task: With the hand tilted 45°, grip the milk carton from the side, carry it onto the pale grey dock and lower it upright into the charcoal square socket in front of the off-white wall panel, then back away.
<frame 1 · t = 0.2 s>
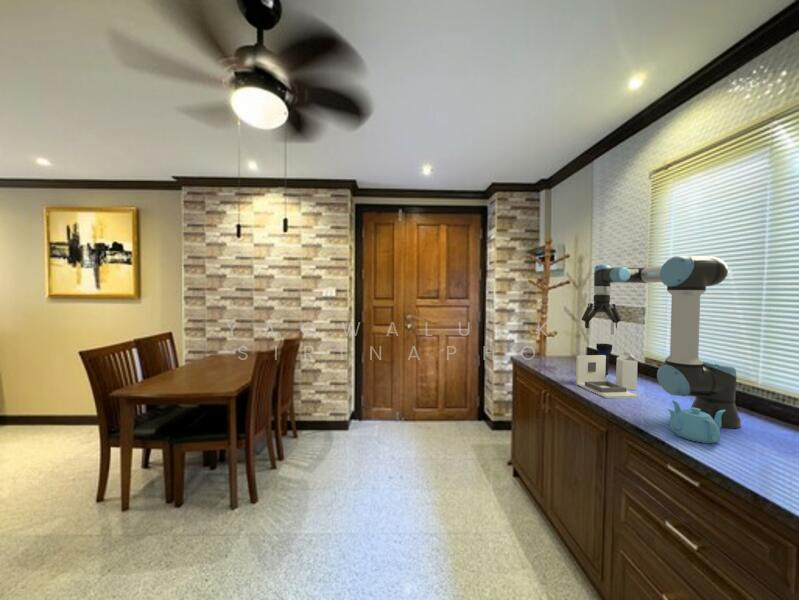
hand: (600, 334, 184), 28 cm above the worktop, tool pointing down, fingers open, 13 cm apart
milk carton: (626, 388, 183), on the worktop
dock: (604, 390, 178), on the worktop
teapot: (692, 436, 123), on the worktop
flashlight: (603, 378, 203), on the worktop
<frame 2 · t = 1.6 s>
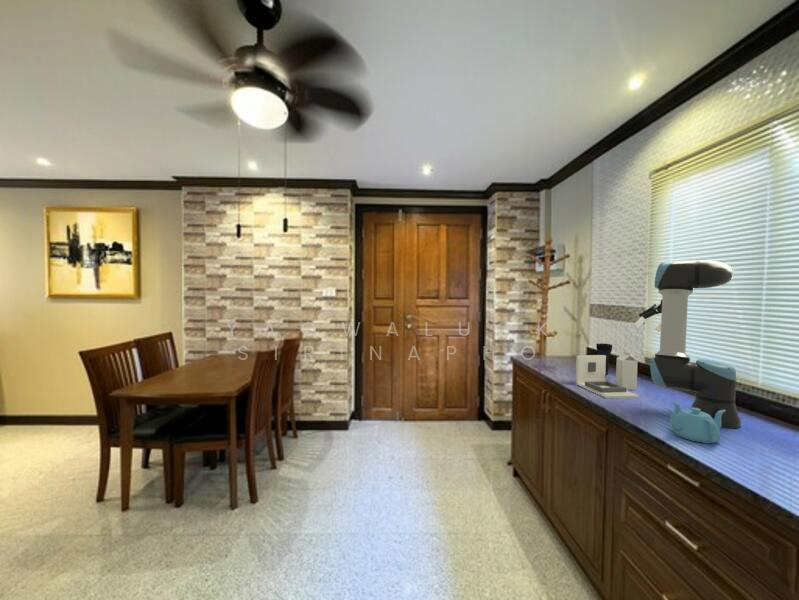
hand: (645, 328, 183), 32 cm above the worktop, tool tilted 45°, fingers open, 13 cm apart
nothing on the worktop moved.
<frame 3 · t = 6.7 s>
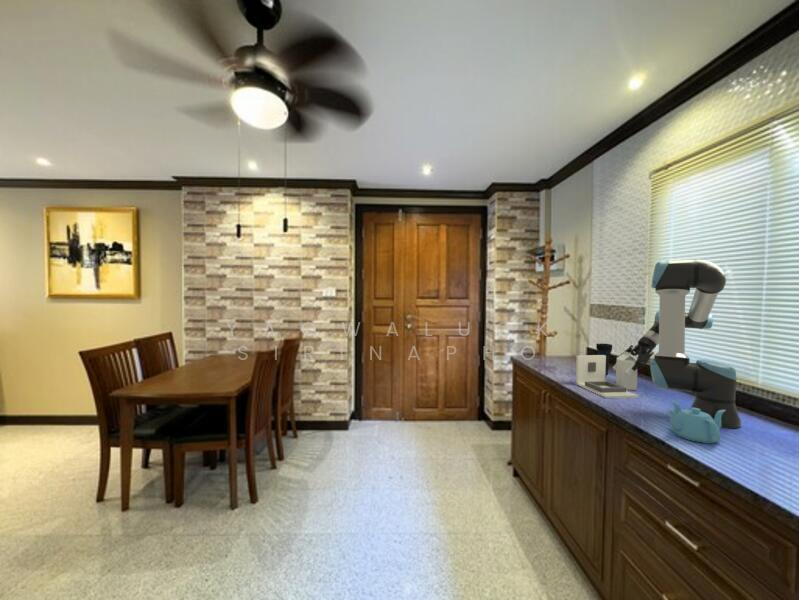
hand: (620, 371, 183), 9 cm above the worktop, tool tilted 45°, fingers closed on milk carton, 9 cm apart
milk carton: (626, 388, 183), on the worktop, touching gripper
everything else where it was.
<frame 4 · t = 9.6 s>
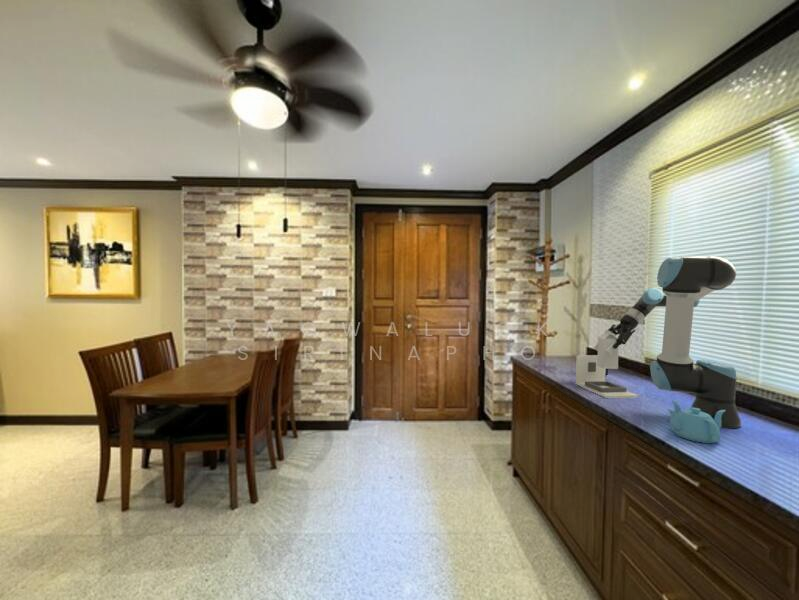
hand: (601, 350, 178), 21 cm above the worktop, tool tilted 45°, fingers closed on milk carton, 9 cm apart
milk carton: (607, 368, 178), point 12 cm above the worktop, touching gripper
everything else where it was.
when the fingers open (11 cm above the worktop, at t = 12.5 s): milk carton drops 1 cm, resting on dock.
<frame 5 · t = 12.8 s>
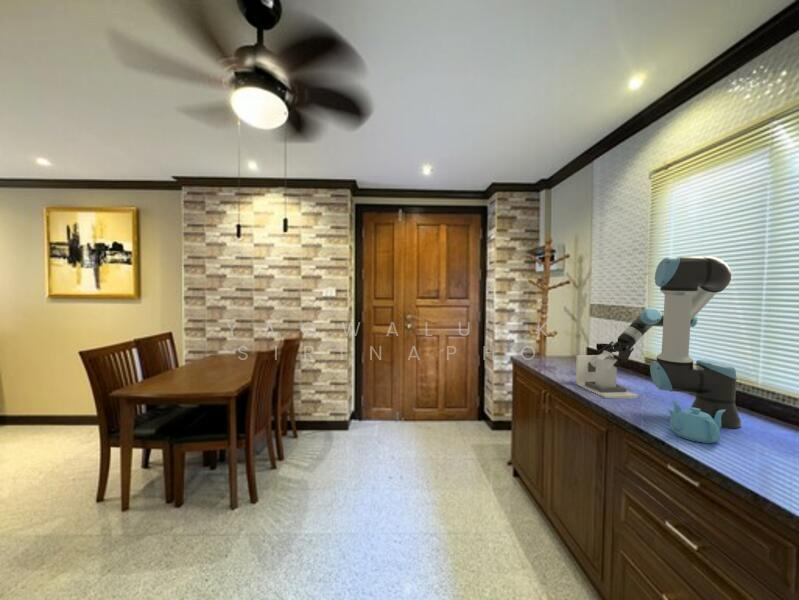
hand: (600, 368, 177), 12 cm above the worktop, tool tilted 45°, fingers open, 11 cm apart
milk carton: (605, 388, 177), point 1 cm above the worktop, touching dock
everything else where it was.
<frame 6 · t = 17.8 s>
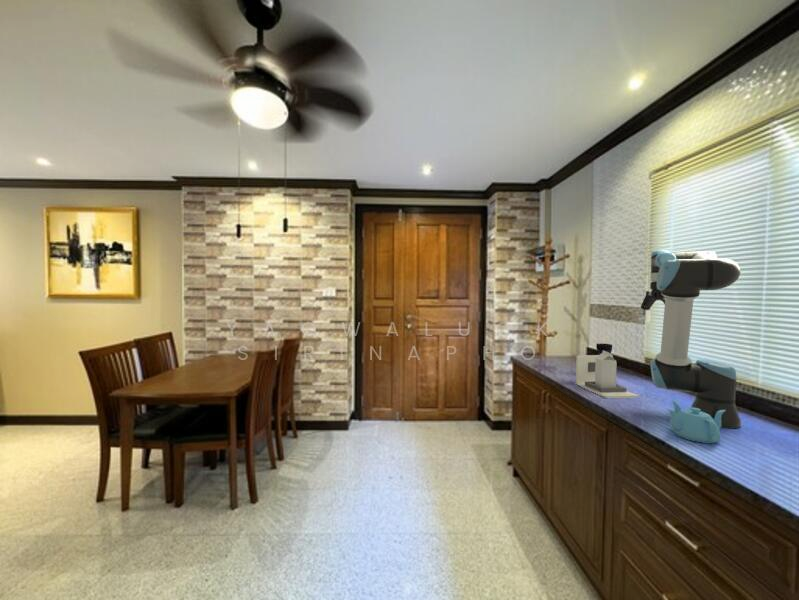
hand: (658, 323, 175), 35 cm above the worktop, tool pointing down, fingers open, 13 cm apart
nothing on the worktop moved.
at the end: milk carton 0.1 cm off-centre on the dock, point 1.0 cm above the dock's base; milk carton tilted 0°; the gripper is holding nothing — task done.
